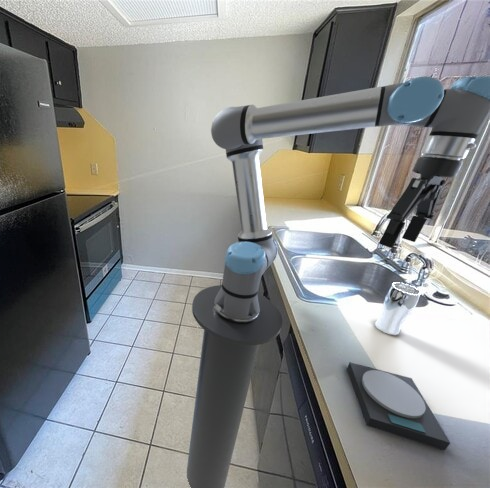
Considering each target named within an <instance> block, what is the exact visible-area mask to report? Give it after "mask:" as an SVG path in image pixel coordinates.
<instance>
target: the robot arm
mask: <svg viewBox="0 0 490 488" xmlns="http://www.w3.org/2000/svg"><path fill="white" fill-rule="evenodd" d="M489 116H490V75H478V76H468V77H462V78H459V79H457V80H456V81H455V82H453V84H452V86H451V87H450V88H444V85H443V83H442V81H440V80H439V79H438V78H435V77H433V76H427V75H426V76H425V75H423V76H418V77H414V78H410V79H408V80H405V82H400V83H399V82H398V83H393V84H388V85H383V86H375V87H370V88H365V89H359V90H354V91H347V92H341V93H336V94H335V93H334V94H331V95H330V94H329V95H324V96H319V97H313V98H307V99H302V100H296V101H290V102H285V103H279V104H273V105H272V104H271V105H267V106H260V107H257V106H256V105H255V104H248V105H241V106H229V107H226V108H223V109H222V110H220V111H219V112H218V113H217V114H216V116H214V118H213V120H212V122H211V127H210V134H211V138H212V140H213V142H214V143H215V145H216V146H218V147H219V148H220V149H223V150H225V155H226V159H227V160H229V162H231V166H232V172H233V179H234V187H235V194H236V202H237V209H238V215H239V223H240V232H239V233H238V234H237V241H236V242H234V243H232V244H230V246H229V247H228V248H227V250H226V253H225V257H224V266H223V272H222V273H223V275H222V281H221V285H222V287H221V289H220V291H219V292H218V294H217V296H216V298H215V300H214V310H215V312H216V313H217V314H218V315H219V316H220V317H221V318H223V319H225V320H227V321H229V322H232V323H237V324H248V323H252V322H254V321H255V320H256V319H257V318H258V316H259V311H260V309H259V302H258V296H257V293H259V288H260V284H261V279H262V276H263V274H265V272H266V271H267V269H268V268H269V267H270V266H271V265H272V264H273V263H274V261H275V260H276V258H277V255H278V251H279V250H278V244H277V241H276V239H274V238H273V231H272V229H270V228H268V226H267V217H266V208H265V199H264V189H263V188H264V187H263V180H262V172H261V164H260V163H261V161H260V155H261V154H262V153H263V151H264V144H263V143H264V142H263V140H264V139H274V138H284V137H291V136H293V137H294V136H301V135H310V134H319V133H328V132H329V133H330V132H338V131H339V132H340V131H349V130H358V129H366V128H376V127H386V126H387V127H388V126H396V127H415V128H416V127H419V128H431V130H430V132H429V135H428V136H427V139H426V140H425V142H424V145H423V146H422V149H421V151H420V154H421V155H422V156H419V157H418V158H417V160H416V162H415V163H414V166H413V169H412V173H414V174H418V175H419V174H420V175H419V177H412V178H411V179H410V182H409V183H408V185H407V187H406V189H405V190H404V191H403V192H402V194H401V195H400V197H399V199H398V200H397V202H396V203H395V204H394V206H393V207H392V209H390V211H389V213H388V214H387V215H386V219H388V220H389V221H388V224H387V226H386V227H385V230H384V231H383V234H382V236H381V239H380V240H379V242H378V245H381V246H384V247H387V248H390V249H393V248H394V246H395V244H396V242H397V240H398V238H399V236H400V234H401V233H402V230H403V229H404V227H405V225H406V222H405V221H406V220H407V219H408V218H409V216H410V215H411V214H412V213H413V211H414V210H415V209H416V211H415V215H413V216H412V218H411V219H410V221H409V224H408V225H407V227H406V229H405V231H404V233H403V235H402V237H401V239H404V240H406V241H409V242H413V243H415V242H416V241H417V239H418V237H419V235H420V234H421V231H422V230H423V228H424V226H425V224H426V222H427V221H428V219H429V220H432V219H433V218H434V217H435V215H434V213H435V211H436V208H437V205H438V202H439V200H440V196H441V193H442V191H443V189H444V187H445V184H446V183H447V180H446V179H447V178H448V179H453V178H455V177H457V175H458V173H459V172H460V170H461V167H462V165H463V164H464V163H463V160H461V159H465V158H466V157H467V156H468V154H469V153H470V150H471V149H475V148H476V147H477V143H475V141H476V139H477V138H478V136H479V134H480V132H481V130H482V129H483V127H484V125H485V124H486V122H487V120H488V118H489ZM443 178H446V179H443Z"/></svg>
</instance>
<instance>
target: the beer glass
mask: <svg viewBox="0 0 490 488" xmlns="http://www.w3.org/2000/svg"><path fill="white" fill-rule="evenodd" d="M421 295H422V292H421V290H419V289H418V288H417V287H415V286H413V285H411V284H408V283H403V282H393V283H391V285H390V287H389V288H388V290H387V292H386V294H385V296H384V300H383V304H382V309H381V313H380V315H379V317H378V318H377V320H376V321H375V322H374V325H375V327H376V329H378V330H379V331H381V332H382V333H385V334H387V335H390V336H398V335H399V334H400V332H401V327H402V324H404V322H405V321H406V320H407V318H408V317H409V316H410V315H411V314H412V313H413V311H414V310H415V308H416V307H417V305H418V302H419V299H420V297H421Z"/></svg>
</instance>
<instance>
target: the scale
mask: <svg viewBox="0 0 490 488" xmlns="http://www.w3.org/2000/svg"><path fill="white" fill-rule="evenodd" d="M346 371H347V374H348V377H349V379H350V382H351V385H352V388H353V391H354V394H355V397H356V399H357V402H358V405H359V408H360V411H361V415H362V416H363V419H364V422H365V426H367V427H369V428H373V429H376V430H380V431H383V432H385V433H388V434H392V435H395V436H398V437H402V438H405V439H407V440H411V441H413V442H418V443H420V444H424V445H426V446H429V447H433V448H436V449H439V450H442V451H446V450H447V448H448V447H449V446H450V445H451V441H450V439H449V438H448V436H447V434H446V433H445V431H444V429H443V428H442V426H441V424H440V423H439V422H438V420H437V417H436V416H435V414H434V413H433V412H432V410H431V408H430V406H429V405H428V403H427V401H426V400H425V398H424V397H423V395H422V393H421V392H420V390H419V388H418V386H417V385H416V383H415V382H414V379H413V378H412V377H408V376H405V375H400V374H398V373H394V372H390V371H385V370H382V369H377V368H375V367H370V366H367V365H366V366H365V365H362V364H359V363H355V362H351V361H349V362H348V364H347V367H346Z"/></svg>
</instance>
